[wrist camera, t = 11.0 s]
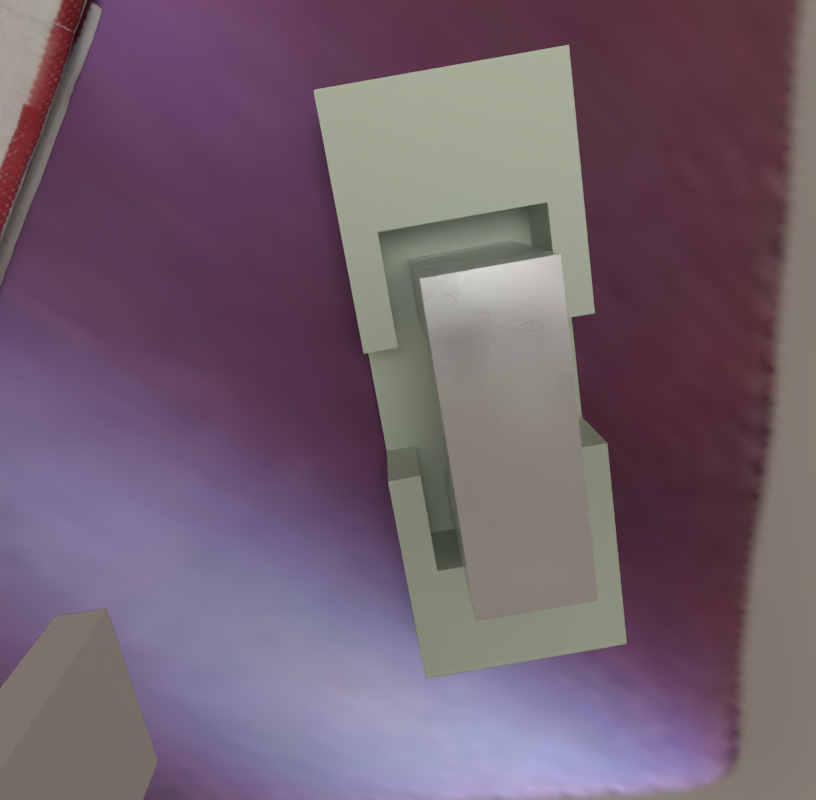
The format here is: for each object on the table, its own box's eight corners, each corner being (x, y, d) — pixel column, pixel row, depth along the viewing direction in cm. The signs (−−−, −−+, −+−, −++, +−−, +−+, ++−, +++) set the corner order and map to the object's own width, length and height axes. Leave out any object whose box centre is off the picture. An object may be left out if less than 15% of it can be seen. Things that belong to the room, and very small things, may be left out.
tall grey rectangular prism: (543, 502, 27) (598, 600, 20) (451, 518, 27) (475, 621, 20) (510, 240, 24) (560, 253, 18) (407, 258, 24) (419, 278, 18)
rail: (593, 586, 29) (626, 643, 25) (419, 616, 29) (425, 678, 26) (538, 70, 24) (568, 44, 20) (323, 108, 24) (313, 89, 20)
